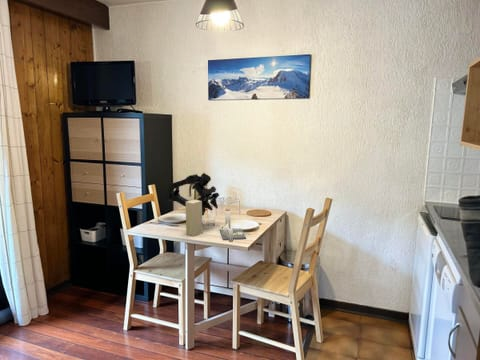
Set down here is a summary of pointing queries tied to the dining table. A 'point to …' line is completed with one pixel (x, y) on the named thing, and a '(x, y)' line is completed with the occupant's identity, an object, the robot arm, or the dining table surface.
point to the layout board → (235, 235)
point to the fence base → (228, 232)
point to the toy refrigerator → (194, 217)
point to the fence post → (227, 217)
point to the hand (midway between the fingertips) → (214, 209)
